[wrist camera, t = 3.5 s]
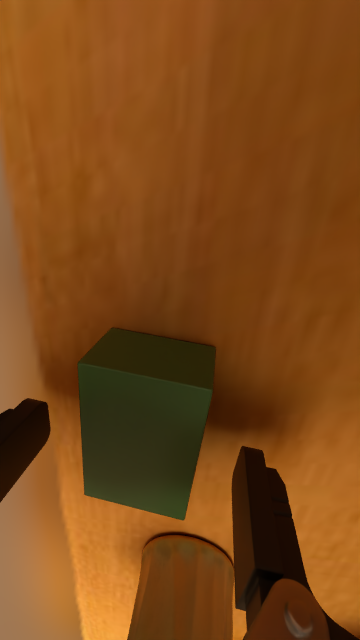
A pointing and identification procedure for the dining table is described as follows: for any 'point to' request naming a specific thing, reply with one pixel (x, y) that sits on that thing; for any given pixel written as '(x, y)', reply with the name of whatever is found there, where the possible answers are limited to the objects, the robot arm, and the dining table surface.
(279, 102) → the dining table surface
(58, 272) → the dining table surface
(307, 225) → the dining table surface
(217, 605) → the vase
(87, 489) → the block
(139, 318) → the dining table surface
